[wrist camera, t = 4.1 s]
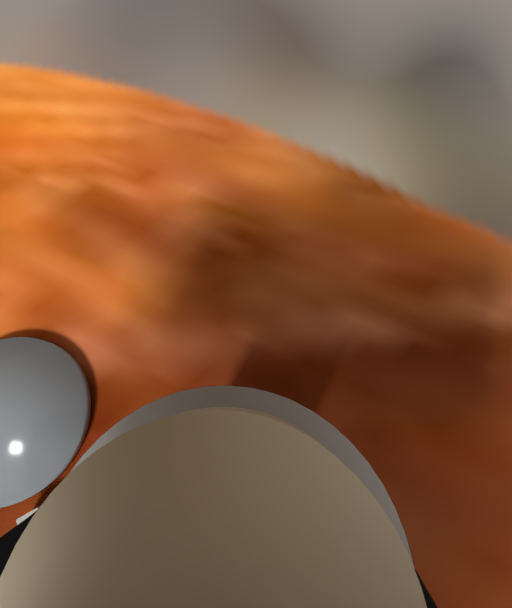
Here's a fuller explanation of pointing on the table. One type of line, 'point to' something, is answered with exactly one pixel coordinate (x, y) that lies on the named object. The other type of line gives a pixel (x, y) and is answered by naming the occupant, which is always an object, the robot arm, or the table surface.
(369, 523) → the ringed post
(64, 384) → the coaster
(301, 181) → the table surface
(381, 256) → the table surface
